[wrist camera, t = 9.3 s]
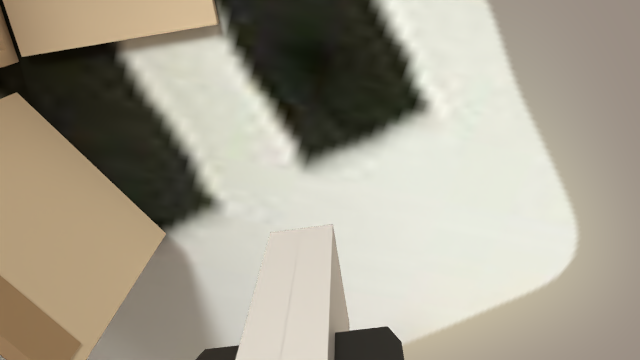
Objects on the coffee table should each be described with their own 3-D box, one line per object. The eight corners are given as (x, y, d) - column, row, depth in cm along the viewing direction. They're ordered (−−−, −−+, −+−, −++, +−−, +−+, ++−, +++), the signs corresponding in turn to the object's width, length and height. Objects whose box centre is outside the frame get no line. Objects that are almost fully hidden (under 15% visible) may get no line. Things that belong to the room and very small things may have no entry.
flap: (167, 233, 25) (67, 389, 16) (158, 240, 25) (55, 399, 16) (17, 91, 23) (-195, 177, 14) (9, 99, 23) (-206, 190, 14)
